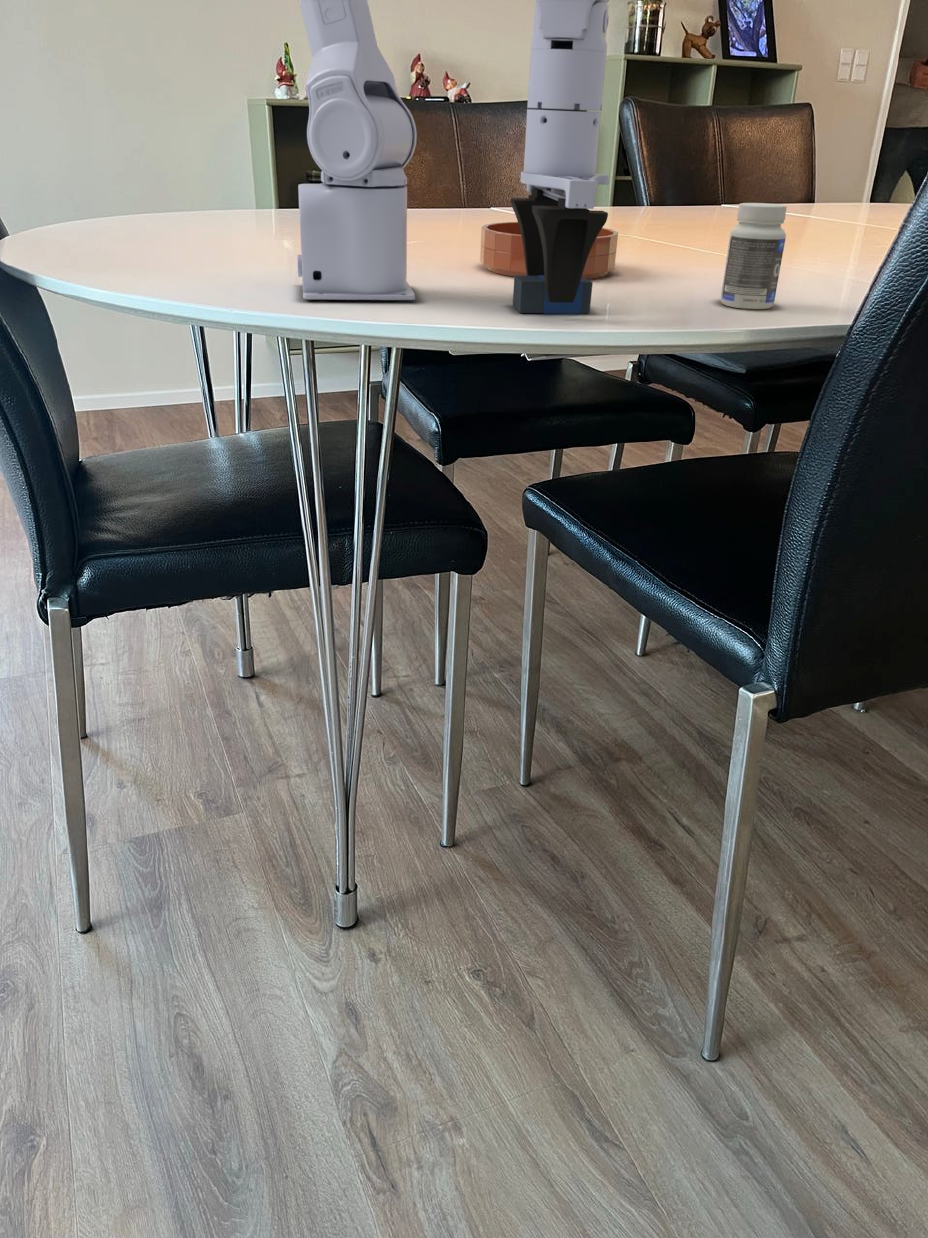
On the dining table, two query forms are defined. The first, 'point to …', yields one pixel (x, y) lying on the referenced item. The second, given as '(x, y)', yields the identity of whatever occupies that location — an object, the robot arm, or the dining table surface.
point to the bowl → (507, 251)
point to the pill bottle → (754, 256)
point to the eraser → (534, 300)
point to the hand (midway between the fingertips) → (550, 293)
